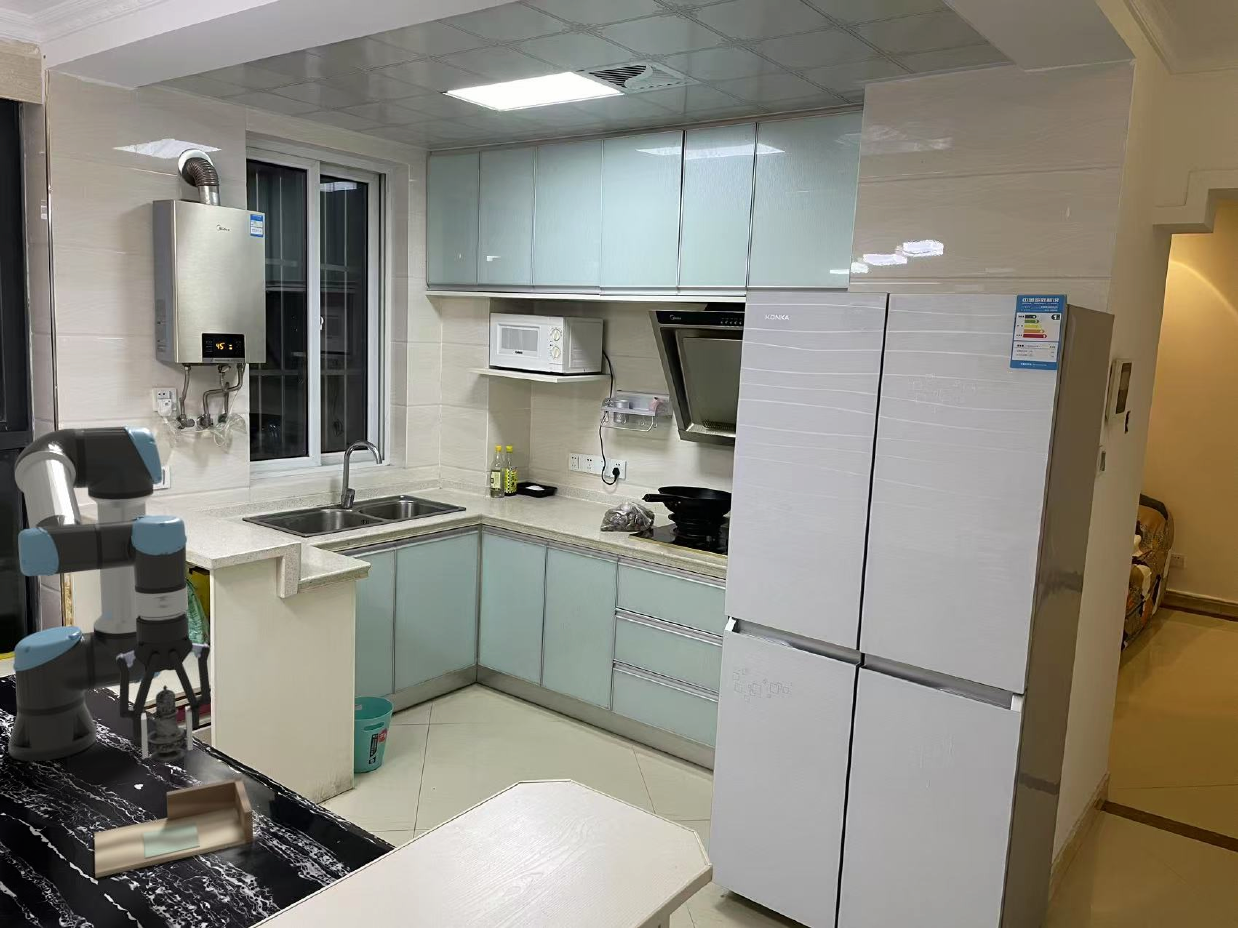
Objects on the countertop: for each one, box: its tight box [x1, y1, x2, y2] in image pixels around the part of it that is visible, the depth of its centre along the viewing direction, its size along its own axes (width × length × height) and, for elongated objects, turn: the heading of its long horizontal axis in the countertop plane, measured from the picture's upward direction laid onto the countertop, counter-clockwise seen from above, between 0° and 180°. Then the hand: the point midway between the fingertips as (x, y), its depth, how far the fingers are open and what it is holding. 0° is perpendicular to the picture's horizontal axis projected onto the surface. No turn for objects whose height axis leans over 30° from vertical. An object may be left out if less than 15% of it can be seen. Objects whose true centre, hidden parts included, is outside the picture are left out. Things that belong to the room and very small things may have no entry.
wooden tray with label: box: [94, 777, 254, 879], centre depth 154 cm, size 13×23×6 cm, turn 120°
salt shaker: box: [147, 685, 187, 764], centre depth 150 cm, size 6×6×12 cm
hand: (167, 750), depth 151 cm, fingers closed on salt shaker, 6 cm apart
